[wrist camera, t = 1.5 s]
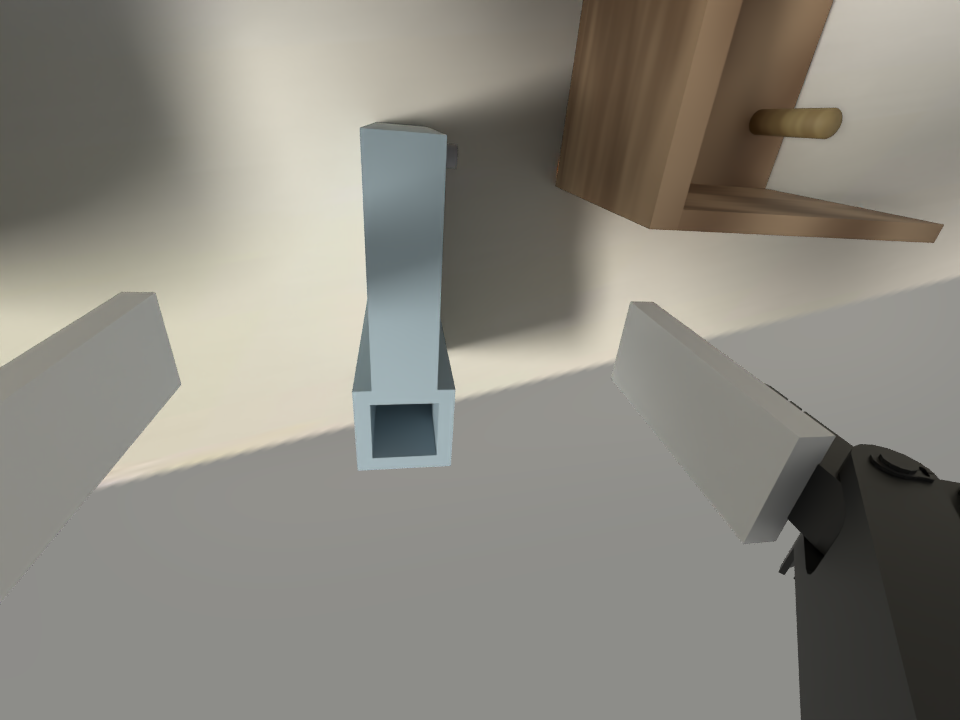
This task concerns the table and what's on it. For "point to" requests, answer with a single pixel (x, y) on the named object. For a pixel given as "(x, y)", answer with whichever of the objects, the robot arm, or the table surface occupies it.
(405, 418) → the door
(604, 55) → the cabinet
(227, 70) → the table surface
